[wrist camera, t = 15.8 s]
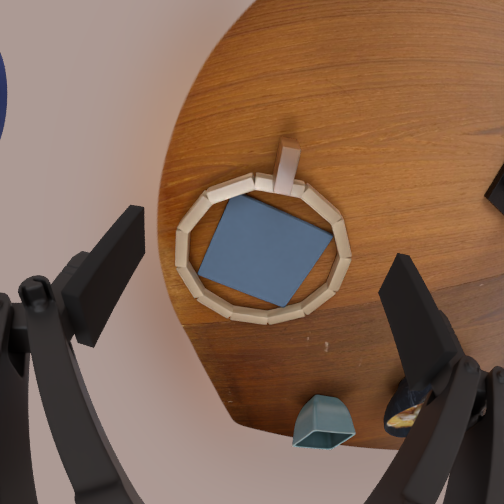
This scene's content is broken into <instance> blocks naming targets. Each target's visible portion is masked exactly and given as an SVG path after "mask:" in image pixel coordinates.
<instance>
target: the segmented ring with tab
mask: <svg viewBox="0 0 504 504" xmlns="http://www.w3.org/2000/svg"><path fill="white" fill-rule="evenodd" d="M300 154H301V148H300V146H299V144H298V141H297V139H292V138H287V137H282V136H281V137H280V142H279V147H278V151H277V156H276V161H275V166H274V171H273V175H269V174H264V173H258V172H256V176H255V178H254V175H253V173H249V174H246V175H243V176H240V177H237V178H234V179H232V180H229V181H226V182H223V183H220V184H217V185H215V186H212V187H209V188H208V189H207V191H206V190H204V192H203V193H202V194H201V195H200V197H199V198H198V199H197V201H196V202H195V203H194V204H193V206H192V207H191V208H190V209H189V211H188V212H187V213H186V215H185V216H184V217H183V218H182V220H181V221H180V223H179V225H178V227H177V230H176V249H175V266H177V268H176V270H177V271H178V273H179V275H180V276H181V278H182V279H183V281H184V283H185V284H186V286H187V287H188V289H189V291H190V292H191V294H192V295H193V297H194V298H197V301H199V302H200V303H202V304H203V305H205V306H207V307H208V308H210V309H212V310H214V311H215V312H217V313H219V314H220V315H222V316H224V317H225V318H228V317H230V320H236V321H242V322H249V323H256V324H264V325H267V322H268V323H269V324H270V325H271V324H275V323H279V322H284V321H288V320H292V319H296V318H300V317H304V316H305V313H306V314H307V315H308V314H310V313H311V312H312V311H314V310H315V309H316V308H318V307H319V306H320V305H322V304H323V303H324V302H326V301H327V300H328V299H330V298H331V297H332V296H333V295H335V294H336V292H335V291H338V290H339V288H340V286H341V283H342V281H343V279H344V276H345V274H346V272H347V269H348V267H349V264H350V262H351V256H352V254H351V250H350V245H349V241H348V236H347V232H346V227H345V223H344V220H343V217H342V215H341V214H340V212H339V210H337V209H336V208H335V207H334V206H333V205H332V204H331V203H330V202H329V201H328V200H326V199H325V198H324V197H323V196H322V195H321V194H320V193H319V192H318V191H316V190H315V189H314V188H313V187H312V186H311V185H310V184H308V183H307V184H306V185H305V183H304V181H301V180H296V179H295V175H296V170H297V166H298V162H299V158H300ZM253 190H259V191H265V192H271V193H276V194H282V195H287V196H292V197H298V198H301V199H302V200H303V201H304V202H306V203H307V204H308V205H309V206H310V207H312V208H313V209H314V210H315V211H316V212H317V213H319V214H320V215H321V216H322V217H323V218H324V219H325V220H327V221H328V222H329V223H330V224H331V227H332V231H333V235H334V239H335V242H336V246H337V251H338V253H337V256H336V258H335V261H334V264H333V266H332V269H331V271H330V274H329V276H328V279H327V281H326V283H325V284H323V285H322V286H321V287H320V288H318V289H317V290H316V291H315V292H313V293H312V294H311V295H310V296H308V297H307V298H306V299H304V300H303V301H302V302H300V303H296V304H292V305H288V306H285V307H284V308H283V307H280V308H276V309H272V310H268V311H267V310H260V309H253V308H246V307H240V306H233V305H232V304H230V303H228V302H227V301H225V300H223V299H222V298H220V297H219V296H217V295H215V294H214V293H212V292H211V291H209V290H207V289H206V288H205V287H204V286H203V284H202V282H201V281H200V279H199V277H198V275H197V274H196V272H195V270H194V269H193V267H192V265H191V263H190V262H189V248H190V233H191V230H192V229H193V227H194V226H195V225H196V224H197V223H198V221H199V220H200V219H201V218H202V216H203V215H204V214H205V213H206V212H207V210H208V209H209V208H210V207H211V206H212V204H215V203H218V202H220V201H223V200H226V199H229V198H232V197H235V196H238V195H241V194H244V193H247V192H250V191H253Z"/></svg>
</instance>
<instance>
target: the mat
mask: <svg viewBox="0 0 504 504" xmlns="http://www.w3.org/2000/svg"><path fill="white" fill-rule="evenodd" d="M332 238H333V234H331V233H329V232H327V231H325V230H323V229H321V228H319V227H316V226H314V225H312V224H310V223H308V222H306V221H303V220H301V219H299V218H297V217H295V216H292V215H290V214H288V213H286V212H284V211H281V210H279V209H277V208H275V207H272V206H270V205H268V204H266V203H263V202H261V201H259V200H256V199H254V198H252V197H250V196H247V195H245V194H241V195H238V196H235V197H232V198H230V199H229V202H228V204H227V206H226V208H225V211H224V213H223V215H222V217H221V220H220V222H219V224H218V227H217V229H216V231H215V233H214V236H213V238H212V240H211V243H210V245H209V247H208V250H207V252H206V254H205V257H204V259H203V261H202V264H201V266H200V269H199V271H198V275H200V276H203V277H205V278H208V279H210V280H213V281H215V282H218V283H220V284H223V285H225V286H228V287H230V288H233V289H236V290H238V291H241V292H243V293H246V294H249V295H251V296H254V297H257V298H259V299H262V300H265V301H267V302H270V303H273V304H275V305H278V306H281V307H283V308H284V307H285V306H286V304H287V303H288V302H289V300H290V299H291V297H292V296H293V295H294V293H295V292H296V290H297V289H298V288H299V286H300V285H301V283H302V282H303V280H304V279H305V278H306V276H307V275H308V273H309V272H310V270H311V269H312V267H313V266H314V265H315V263H316V262H317V260H318V259H319V257H320V256H321V254H322V253H323V251H324V250H325V248H326V247H327V245H328V244H329V242H330V241H331V239H332Z"/></svg>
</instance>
